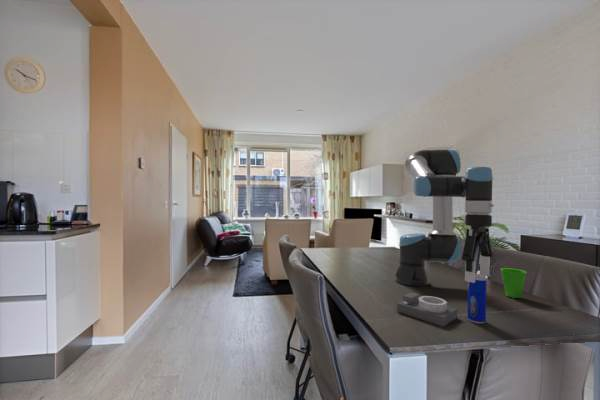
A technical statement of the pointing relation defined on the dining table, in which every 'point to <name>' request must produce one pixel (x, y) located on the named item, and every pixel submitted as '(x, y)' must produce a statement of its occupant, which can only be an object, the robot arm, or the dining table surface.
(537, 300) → the dining table surface
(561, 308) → the dining table surface
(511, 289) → the cup
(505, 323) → the dining table surface
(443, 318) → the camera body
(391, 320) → the dining table surface
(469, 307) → the beverage can
